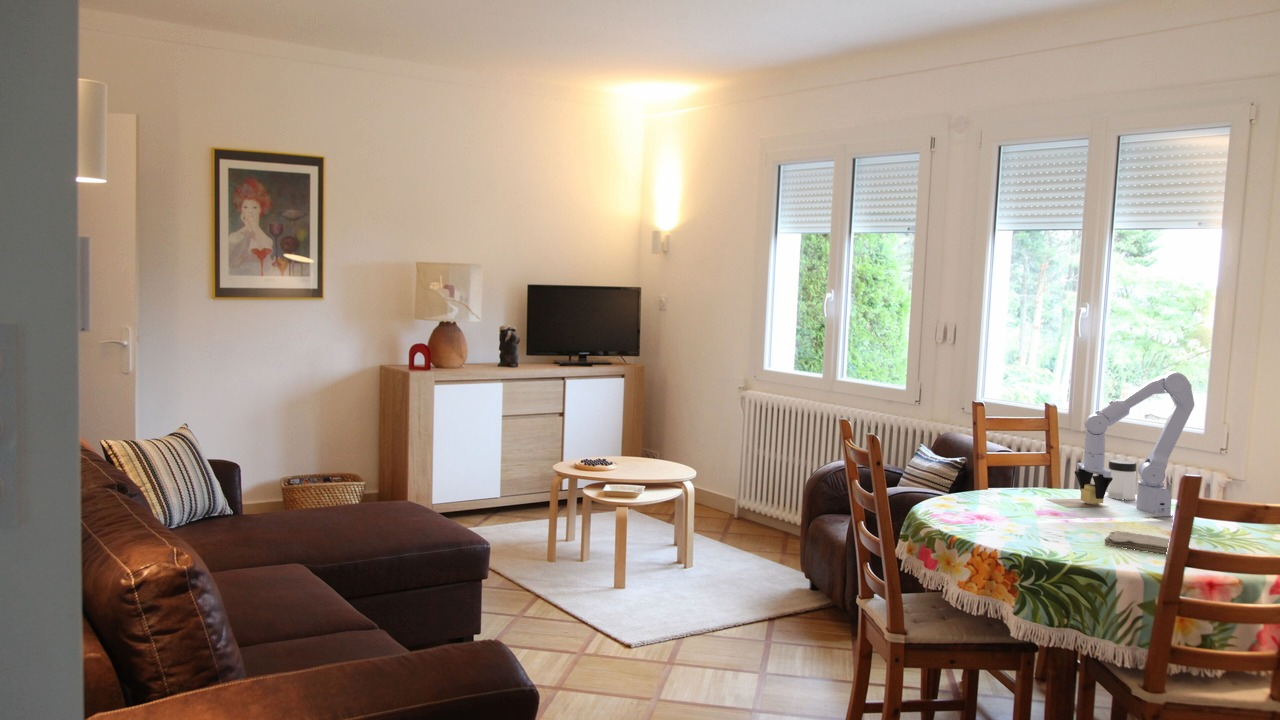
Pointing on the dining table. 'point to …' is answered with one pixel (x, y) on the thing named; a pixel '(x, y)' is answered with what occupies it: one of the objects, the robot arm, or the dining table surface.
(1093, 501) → the yellow socket block
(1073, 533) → the dining table surface
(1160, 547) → the washcloth
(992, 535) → the dining table surface
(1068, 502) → the board
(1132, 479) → the jar
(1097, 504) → the stud
